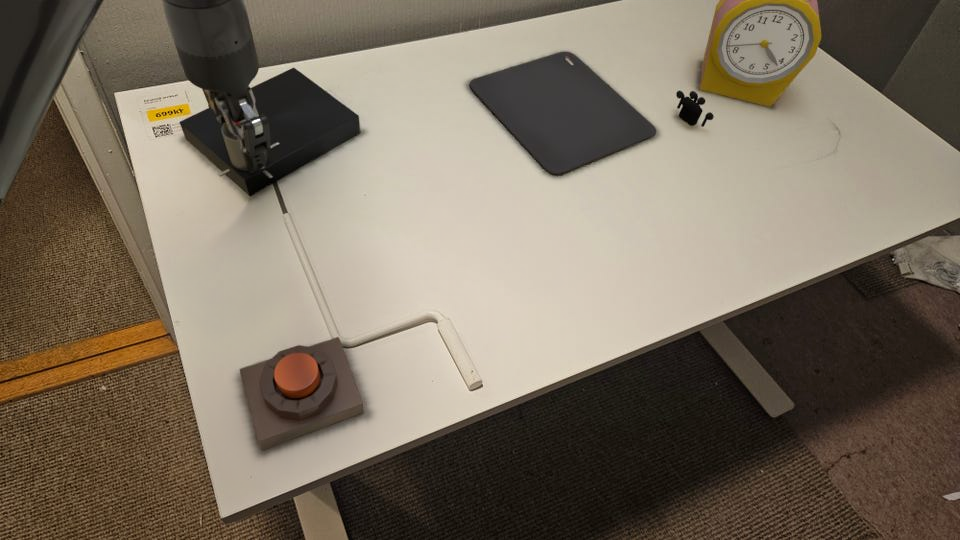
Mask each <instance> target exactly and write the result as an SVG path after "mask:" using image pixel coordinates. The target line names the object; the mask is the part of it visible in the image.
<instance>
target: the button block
mask: <svg viewBox="0 0 960 540" xmlns="http://www.w3.org/2000/svg"><path fill="white" fill-rule="evenodd" d="M292 353H305V354H308V355H310V356H311V357H313V358H314V359H315V361H316V362H317V365H318V369H319V373H320V382H319V384H318V386H317V388H316V389H315V390H314V391H313V392H312V393H311V394H310V395H308V396H306V397H303V398H298V399H294V398H289V397H286V396H285V395H283V394H282V393H281V392H280V391H279V389H278V386H277V384H276V381H275V378H274V371H275V368H276V365H277V364H278V362H279V361H280V360H281V359H282V358H284V357H285V356H287V355H289V354H292ZM239 373H240V377H241V382H242V386H243V389H244V393H245V397H246V401H247V406H248V410H249V412H250V416H251V420H252V424H253V428H254V432H255V436H256V440H257V443H258V445H259V446H260V448H261V450H262V451H264V450H266V449H270V448H272V447H275V446H277V445H280V444H283V443H285V442H288V441H291V440H293V439H296V438H297V439H298V438H299V437H302V436H304V435H307V434H310V433H312V432H315V431H318V430H320V429H323V428H326V427H329V426H331V425H334V424H337V423H340V422H342V421H345V420H347V419H350V418H353V417H355V416H356V417H357V416H358V415H361V414H364V413H365V406H364V401H363V398H362V396H361V394H360V390H359V387H358V386H357V383H356V379H355V377H354V374H353V372H352V369H351V367H350V364H349V361H348V358H347V355H346V352H345V349H344V346H343V345H342V341H341V339H340V337H339V336H336V337H334V338H330V339H327V340H324V341H321V342H319V343H315V344H312V345H309V346H308V345H301V344H298V345H295V346H291V347H289V348H285V349H283V350H279V351H278V352H276V354H274V355H273V356H272V357H271V358H269V359H266V360H262V361H261V362H260V361H259V362H256V363H254V364H251V365H248V366H244V367H241V368H239Z"/></svg>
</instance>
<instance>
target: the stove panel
mask: <svg viewBox="0 0 960 540" xmlns="http://www.w3.org/2000/svg"><path fill="white" fill-rule="evenodd" d="M250 88H251V89H252V92H253V94H254V97H255V106H256V109H257V112H258V115H259V116H261V115H263V114H264V115H265V116H266V117H267V118H268V120H269V130H270V145H271V150H268V151H267V154H268V161H267V163H266V164H267V166H266V168H265V169H263V170H260V171H258V172H255V173H250V172H249V171H241V170H238V169H236V168H235V167H234V166H233V165H232V163H231V160H230V157H229V154H228V150H227V147H226V144H225V141H224V137H223V134H222V130H221V129H222V125H221V124H220V123H219V121H217V119H216V114H215V113H214V111H212V110H211V109H210V108H209V107H208V108H206V109H203V110H201V111H199V112H197V113H195V114H192V115H191V116H189V117H187V118H184V119H182V120H180V121H179V125H180V127H181V131H182V133H183V135H184V138H185V140H186V141H187V142H188V143H189V144H190V145H191V146H192V147H194V148H195V149H196V150H197V151H198V152H199V153H200V154H202V155H203V156H204V157H205V158H206V159H207V160H208V161H209V162H210V163H211V164H213V165H214V166H215V167H216V168H217V169H218V170H219V171H220V172H219V173H218V176H219V177H223V176H226V177H227V178H228V179H229V180H230V181H231V182H233V183H234V184H235V185H236V186H237V187H238V188H240V189H241V190H242V191H243V192H244V193H245V194H246V195H247V196H249V197H252V196H254V195H256V194H257V193H258V192H260V191H262V190H264V189H266V188H267V187H269V186H271V185H273V184H274V183H276V182H278V181H280V180H282V179H283V178H284V177H286V176H288V175H290V174H291V173H293V172H295V171H297V170H299V169H300V168H302V167H304V166H305V165H307V164H309V163H310V162H312V161H314V160H316V159H317V158H319V157H321V156H322V155H324V154H326V153H328V152H329V151H331V150H333V149H335V148H336V147H339V146H340V145H341V144H343V143H345V142H347V141H348V140H351V139H352V138H353V137H356V136H357V135H359V134H360V133H361V124H360V115H359V114H357V113H356V112H355V111H353V110H352V109H350V108H349V107H348V106H347V105H345V104H344V103H342V101H340V100H339V99H337V98H336V97H334V96H333V95H331V93H329V92H328V91H326V90H325V89H324V88H322V87H321V86H319V85H318V84H317V83H315V82H314V81H313V80H311V79H310V78H309V77H307V75H305V74H303V73H302V72H301V71H300V70H298V69H297V68H296V67H291V68H290V69H288V70H285V71H283V72H282V73H279V74H277V75H275V76H273V77H271V78H268V79H266V80H264V81H262V82H260V83H258V84H256V85H254V86H252V87H250ZM222 124H223V123H222Z"/></svg>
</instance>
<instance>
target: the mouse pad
mask: <svg viewBox="0 0 960 540" xmlns="http://www.w3.org/2000/svg"><path fill="white" fill-rule="evenodd" d="M469 88H470V89H471V91H472V92H473V93H474V94H475V95H476V96H477V97H478V99H480V101H481V102H482V103H483V104H484V105H485V106H486V107H487V108H488V109H489V110H490V112H491V113H492V114H493V115H494V116H495V117H496V118H497V119H498V121H500V122H501V124H502V125H503V126H504V127H505V128H506V129H507V130H508V131H509V132H510V134H512V135H513V137H514V138H516V140H517V141H518V142H519V143H520V144H521V145H522V147H524V148H525V150H527V152H529V154H530V155H531V156H532V157H533V158H534V159H535V160H536V162H538V163H539V165H540V166H541V167H542V168H543V169H544V170H545V171H546V172H548V173H550V174H552V175H563V174H567V173H568V172H571V171H574V170H576V169H578V168H581V167H583V166H585V165H587V164H590V163H593V162H596V161H598V160H600V159H603V158H606V157H608V156H610V155H613V154H615V153H617V152H620V151H623V150H625V149H627V148H630V147H632V146H635V145H637V144H639V143H642V142H644V141H647V140H650V139H651V138H654V137H655V136H656V134H657V129H656V127H655V126H654V125H653V123H651V122H650V121H649V120H648V119H647V118H646V117H645V116H643V115H642V114H641V113H640V112H639V111H638V110H637V109H636V108H635V107H634V106H632V105H631V104H630V103H629V102H628V101H627V100H626V99H625V98H624V97H622V96H621V95H620V93H618V92H617V91H616V90H615V89H614V88H612V86H610V85H609V84H608V83H607V82H606V81H605V80H604V79H602V78H601V76H599V75H598V74H597V73H596V72H595V71H594V70H592V69H591V68H590V67H589V66H588V65H587V64H586V63H584V62H583V61H582V59H580V58H579V57H578V56H577V55H576V54H574V53H573V52H570V51H560V52H556V53H553V54H550V55H547V56H543V57H540V58H537V59H534V60H530V61H527V62H524V63H523V62H522V63H519V64H517V65H514V66H511V67H507V68H504V69H500V70H498V71H494V72H491V73H488V74H485V75H482V76H478V77H476V78H473V79H471V80H470V82H469Z"/></svg>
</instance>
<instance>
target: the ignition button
mask: <svg viewBox="0 0 960 540" xmlns="http://www.w3.org/2000/svg"><path fill="white" fill-rule="evenodd" d="M274 378H275V381H276V384H277V386H278V389H279V391H280V392H281V393H282V394H283V395H285V396H286V397H289V398H294V399H298V398H303V397H306V396H308V395H310V394H311V393H312V392H313V391H314V390H315V389H316V388H317V386H318V384H319V382H320V373H319V369H318V365H317V362H316V361H315V359H314V358H313V357H311V356H310V355H308V354H305V353H292V354H289V355H287V356H285V357H284V358H282V359H281V360H280V361H279V362H278V364H277V365H276V368H275V371H274Z"/></svg>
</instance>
